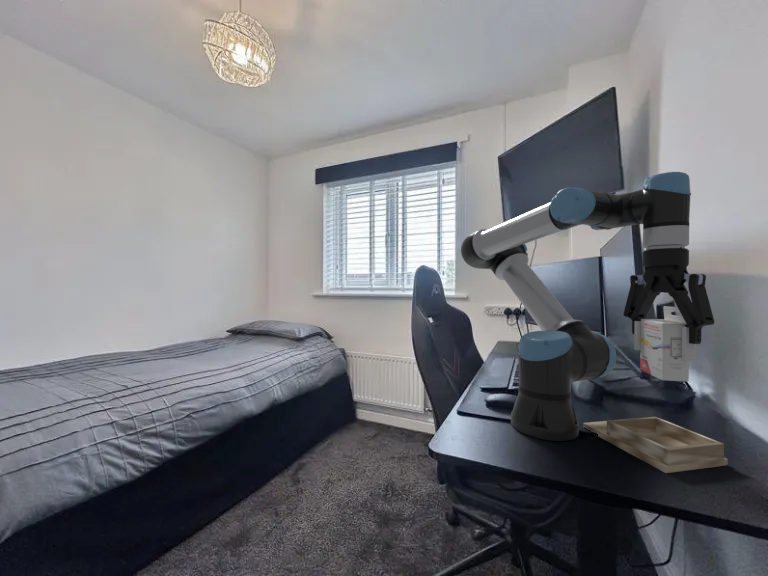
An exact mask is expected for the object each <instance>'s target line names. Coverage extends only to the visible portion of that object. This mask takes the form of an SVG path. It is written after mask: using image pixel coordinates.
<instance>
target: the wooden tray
mask: <svg viewBox="0 0 768 576" xmlns="http://www.w3.org/2000/svg"><path fill="white" fill-rule="evenodd" d="M583 427H585V428H587V429H590V430H592V431H594V432H596V433H597V434H598V436H597V437H598V438H601V439H602V440H604V441H607V442H608V443H610V444H612V445H614V446H616V447H617V448H619V449H621V450H623V451H624V452H626V453H628V454H630V455H632V456H633V457H636V459H639V460H641V461H643V462H645V463H647V464H648V465H650V466H651V467H653V468H655V469H657V470H659V471H661V472H663V473H664V474H671V473H677V472H678V473H679V472H685V471H694V470H699V469H700V470H702V469H708V468H710V469H711V468H715V467H717V468H718V467H723V466H728V463H729V461H728V458H726V457H725V443H723V442H720V441H717V440H715V439H713V438H710V437H708V436H705V435H703V434H701V433H698V432H696V431H693V430H690V429H687V428H685V427H683V426H680V425H678V424H676V423H674V422H670V421H668V420H665V419H663V418H660V417H657V416H649V417H647V416H646V417H637V418H634V417H633V418H626V419H625V418H623V419H612V420H604V421H603V420H602V421H601V420H600V421H590V422H583V423H582V428H583Z"/></svg>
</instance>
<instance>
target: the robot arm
mask: <svg viewBox="0 0 768 576" xmlns="http://www.w3.org/2000/svg"><path fill="white" fill-rule="evenodd" d="M690 181H691V180H690V176H689V174H687V173H686V172H681V171H669V172H662V173H657V174H654V175H652V176H649V177H647V178H645V179H644V181H643V185H642V189H639V190H635V191H632V192H627V193H626V192H625V193H622V194H621V193H620V194H616V193H609V192H604V191H597V190H593V189H587V188H584V187H582V186H581V187H572V186H571V187H568V186H567V187H565V188H562V189H560V190H558V192H556V194H555V195H554V196H553V197H552V199H551V200H550V201H549V202H546V203H545V204H543V205H540V206H538V207H536V208H533V209H532V210H529V211H527V212H525V213H523V214H520V215H519V216H516V217H513V218H512V219H509V220H507V221H504V222H503V223H500V224H497V225H496V226H493V227H491V228H489V229H485V228H483V229H478V230H476V231H474V232H472V233H470V234H469V235H467V236H466V237H465V239H464V240H463V241H462V244H461V248H460V254H461V257H462V259H463V261H464V262H465V263H466V265H469V266H470V267H472V268H475V269H479V270H480V269H482V270H484V269H485V270H490V271H491V272H492V273H493V275H495V277H496V278H497V279H499V280H502V281H505V282H506V284H507V286H509V288H510V290H511V291H512V292H513V294H515V296H516V297H517V299H518V300H519V302H520V303H521V304H522V306H523V307H524V309H525V310H526V311H527V312H528V314H529V316H530V317H531V318H532V319H533V321H534V322H535V323H536V325H537V326H538V327H539V328H540V330H536V331H535V330H534V331H531V332H527V333H524V334H523V335H522V336H521V337H520V339H519V347H518V351H517V353H518V394H517V397H516V399H515V401H514V404H513V409H512V410H511V413H510V424H511V425H512V427H513V428H514V429H515V430H517V431H518V432H520V433H522V434H525V435H526V436H529V437H532V438H536V439H539V440H545V441H554V442H566V441H567V442H568V441H572V440H574V439H576V438H578V437H579V434H580V433H579V432H580V426H579V421H578V419H577V415H576V412H575V408H574V406H573V403H572V383H575V382H581V381H589V380H596V379H599V378H602V377H605V376H607V375H608V374H610V373H611V372H612V371H613V370H614V367H615V366H616V364H617V362H616V361H617V359H616V358H617V352H616V348H615V345H614V344H613V342H612V341H611V340H610V338H609V337H607V336H606V335H604V334H601V333H598V332H593V331H592V330H591V329H590V327H588V325H587V324H586V323H585V321H583V320H581V319H574V318H573V317H572V316H571V315H570V313H569V312H568V311H567V310H566V308H565V307H564V305H562V304H561V303H560V301H559V300H558V299H557V298H556V296H554V294H553V293H552V292H551V291H550V289H549V288H548V287H547V286H546V285H545V284H544V282H543V281H542V280H541V278H539V276H538V275H537V274H536V273H535V271H534V270H533V269H532V268H531V266H529V257H528V255H529V253H528V252H527V251H528V247H527V244H528V243H531V242H533V241H536V240H538V239H542V238H545V237H547V236H551V235H554V234H556V233H559V232H562V231H565V230H569V229H571V228H575V227H578V226H581V225H584V226H589V227H590V229H592V230H594V231H599V230H600V231H601V230H602V231H603V230H606V231H608V230H612V229H617V228H624V227H630V226H637V225H642V248H643V249H645V250H643V252H642V267H643V268H644V272H643V274H639V275H638V274H637V275H636V274H632V275H630V277H629V281H630V282H629V283H630V286H629V291H628V293H627V298H626V303H625V306H624V311H623V316H624V317H625V318H629V319H630V320H631V333H632V335H634V336H633V350H634V351H641V319H646V316H647V315H648V312H649V311H650V309H651V307H652V305H654V304H653V303H654V301H655V300H656V298H657V297H658V296H659V295H660V294H661V293H665V294H666V293H667V294H668V295H669V297H671V298H672V299H673V301H674V303H675V305H676V307H678V309H679V311H680V313H681V314H682V316H683V318H684V320H685V322H686V324H687V325H684V326H685V327H682V360H689V361H698V345H700V344H701V343H702V329H703V328H704V327H706V326H707V327H708V326H713V325H714V324H715V319H714V314H713V310H712V307H711V304H710V299H709V295H708V292H707V290H706V282H707V281H706V280H707V275H706V274H704V273H689V272H688V270H687V268H688V266H689V265H690V264H689V263H690V250H689V249H688V248H686V247H688V246H689V245H690V209H691V196H692V192H691V182H690ZM685 283H686V284H687V286H688V289H687V287H686V286H685Z"/></svg>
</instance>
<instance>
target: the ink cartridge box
mask: <svg viewBox="0 0 768 576" xmlns="http://www.w3.org/2000/svg"><path fill="white" fill-rule="evenodd" d="M662 309H663V316H664V317H663V318H664V319H662V318H661V319H660V318H658V319H657V318H645V319H641V350H640V357H639V359H640V361H639V362H640V364H639V368H640V371H642V372H644V373H646V374H648V375H650V376H652V377H655V378H656V379H658V380H661V381H667V382H668V381H670V382H685V383H686V382H690V381H689V379H690V375H689V374H690V373H689V372H690V371H689V369H690V360H682V327H685V326H684V325H687V324H686V322H685V320H684V318H683V316H682V314H681V313H680V311H679V309H678V307H677V306H666V305H664V306H663V308H662ZM672 313H677V314H678V315H675V314H672Z"/></svg>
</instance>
